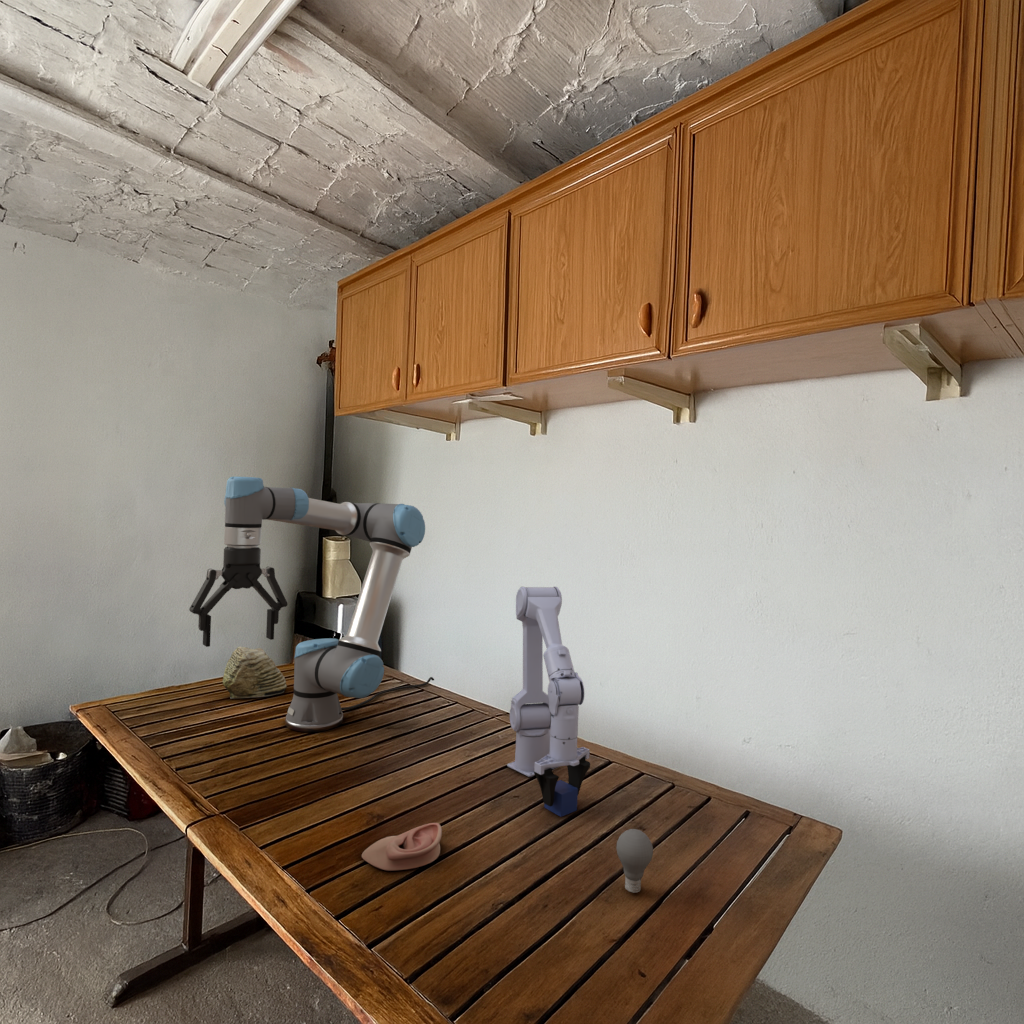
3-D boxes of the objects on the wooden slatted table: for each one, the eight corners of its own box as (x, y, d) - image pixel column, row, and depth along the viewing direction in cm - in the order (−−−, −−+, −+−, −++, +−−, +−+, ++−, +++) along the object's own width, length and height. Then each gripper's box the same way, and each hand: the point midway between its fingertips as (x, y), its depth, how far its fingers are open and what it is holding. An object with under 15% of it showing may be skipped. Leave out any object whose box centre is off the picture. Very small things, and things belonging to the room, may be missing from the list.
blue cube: (560, 817, 130) (561, 794, 130) (543, 807, 133) (544, 785, 133) (577, 810, 133) (578, 788, 133) (560, 801, 137) (561, 779, 136)
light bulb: (610, 879, 108) (613, 822, 108) (644, 879, 109) (647, 822, 109) (619, 902, 102) (622, 840, 102) (655, 901, 103) (658, 840, 103)
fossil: (218, 695, 195) (220, 647, 195) (278, 685, 208) (279, 640, 207) (228, 703, 189) (230, 653, 188) (289, 692, 201) (290, 645, 201)
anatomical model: (354, 842, 109) (381, 811, 120) (353, 865, 109) (380, 831, 121) (427, 854, 107) (448, 821, 118) (426, 877, 107) (447, 842, 118)
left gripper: (185, 548, 129) (181, 652, 130) (304, 546, 145) (300, 638, 146) (176, 545, 135) (172, 644, 135) (291, 544, 151) (288, 632, 152)
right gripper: (552, 748, 125) (549, 816, 125) (601, 733, 134) (598, 796, 135) (528, 737, 130) (525, 803, 131) (577, 723, 140) (574, 784, 140)
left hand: (239, 642), depth 141 cm, fingers open, 13 cm apart
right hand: (561, 799), depth 133 cm, fingers open, 7 cm apart
